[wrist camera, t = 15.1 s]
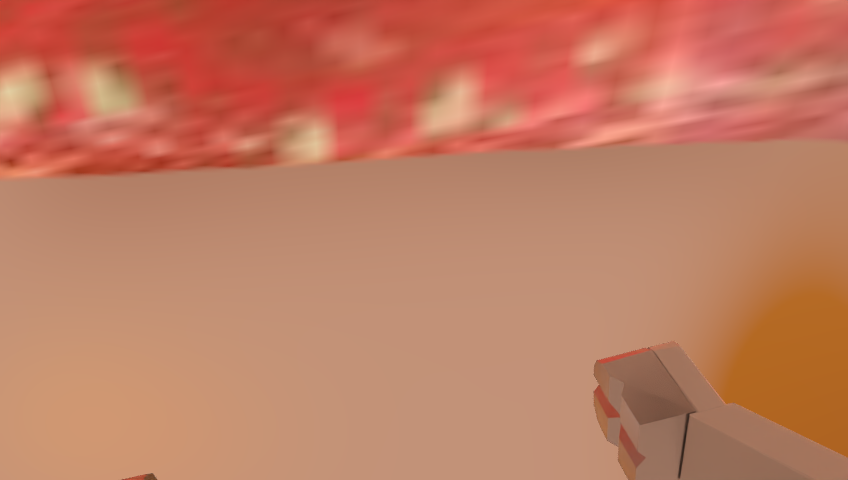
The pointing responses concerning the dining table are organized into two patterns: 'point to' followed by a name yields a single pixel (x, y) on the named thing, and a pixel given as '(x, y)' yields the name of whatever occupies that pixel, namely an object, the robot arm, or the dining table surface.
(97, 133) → the dining table surface
